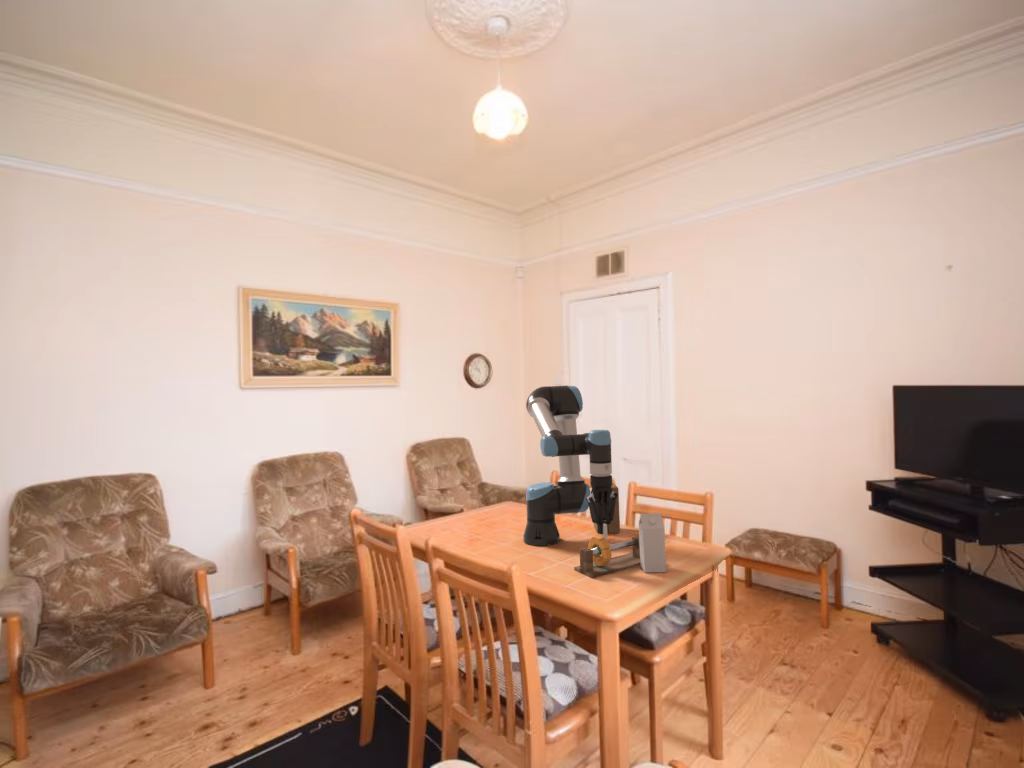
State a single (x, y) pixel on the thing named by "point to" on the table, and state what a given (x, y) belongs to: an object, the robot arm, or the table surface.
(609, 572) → the rack
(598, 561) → the ring
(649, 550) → the milk carton
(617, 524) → the wooden block
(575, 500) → the robot arm
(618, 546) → the pipe
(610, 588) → the table surface
